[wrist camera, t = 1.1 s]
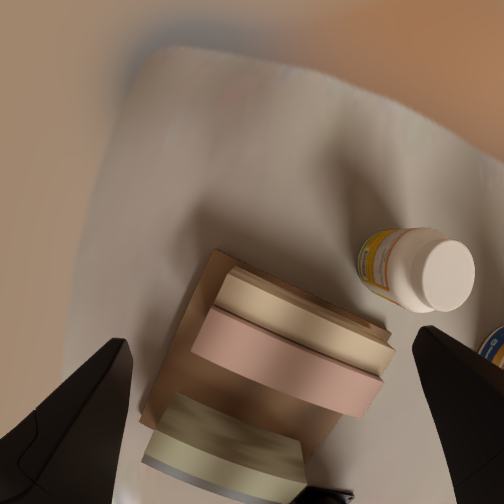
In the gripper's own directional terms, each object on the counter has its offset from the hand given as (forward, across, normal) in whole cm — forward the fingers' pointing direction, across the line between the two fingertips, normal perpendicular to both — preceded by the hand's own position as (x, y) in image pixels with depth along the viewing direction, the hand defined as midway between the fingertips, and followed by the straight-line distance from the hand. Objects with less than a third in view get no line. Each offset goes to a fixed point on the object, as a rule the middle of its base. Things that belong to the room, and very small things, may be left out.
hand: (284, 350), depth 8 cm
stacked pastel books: (+10, -1, +15) cm, 18 cm away
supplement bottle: (+14, -11, +5) cm, 18 cm away
